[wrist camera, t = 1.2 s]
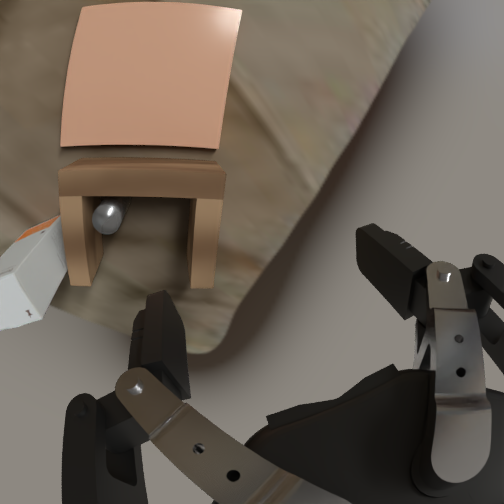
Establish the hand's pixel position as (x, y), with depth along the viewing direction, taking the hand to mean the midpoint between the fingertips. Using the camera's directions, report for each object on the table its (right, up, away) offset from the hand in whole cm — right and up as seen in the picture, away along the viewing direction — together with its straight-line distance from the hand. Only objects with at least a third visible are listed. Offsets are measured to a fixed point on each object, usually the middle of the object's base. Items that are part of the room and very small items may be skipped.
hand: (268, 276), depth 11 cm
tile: (-10, +17, +9) cm, 21 cm away
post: (-13, +6, +13) cm, 20 cm away
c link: (-11, +5, +15) cm, 19 cm away
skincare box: (-21, +3, +13) cm, 25 cm away
